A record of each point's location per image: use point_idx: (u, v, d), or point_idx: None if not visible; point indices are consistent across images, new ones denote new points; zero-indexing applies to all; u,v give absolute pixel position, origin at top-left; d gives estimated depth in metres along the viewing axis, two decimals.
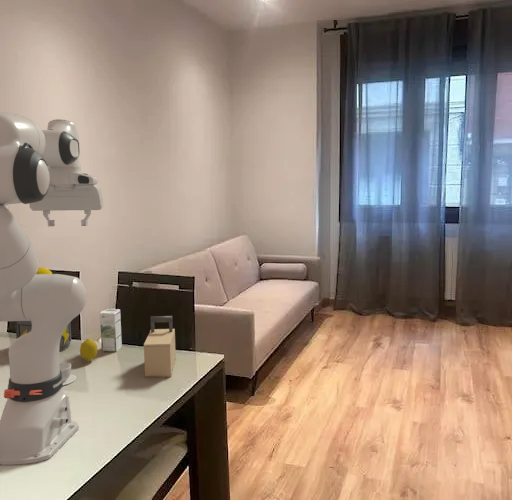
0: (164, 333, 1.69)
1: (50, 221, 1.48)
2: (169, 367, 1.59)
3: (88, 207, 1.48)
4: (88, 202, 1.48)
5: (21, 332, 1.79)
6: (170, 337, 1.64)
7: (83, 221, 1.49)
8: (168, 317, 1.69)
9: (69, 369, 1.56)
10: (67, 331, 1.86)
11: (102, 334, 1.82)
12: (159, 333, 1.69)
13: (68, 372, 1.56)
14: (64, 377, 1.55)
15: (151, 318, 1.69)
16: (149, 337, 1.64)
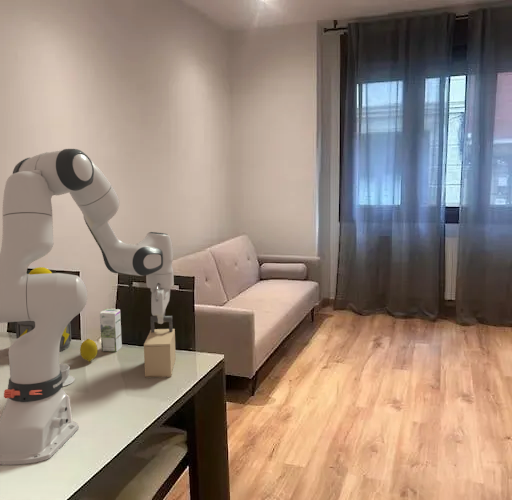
0: (164, 333, 1.69)
1: (163, 318, 1.68)
2: (169, 367, 1.59)
3: (168, 301, 1.76)
4: (168, 296, 1.76)
5: (21, 332, 1.79)
6: (170, 337, 1.64)
7: None
8: (168, 317, 1.69)
9: (67, 370, 1.55)
10: (67, 331, 1.86)
11: (102, 334, 1.82)
12: (159, 333, 1.69)
13: (66, 373, 1.55)
14: None
15: (151, 318, 1.69)
16: (149, 337, 1.64)
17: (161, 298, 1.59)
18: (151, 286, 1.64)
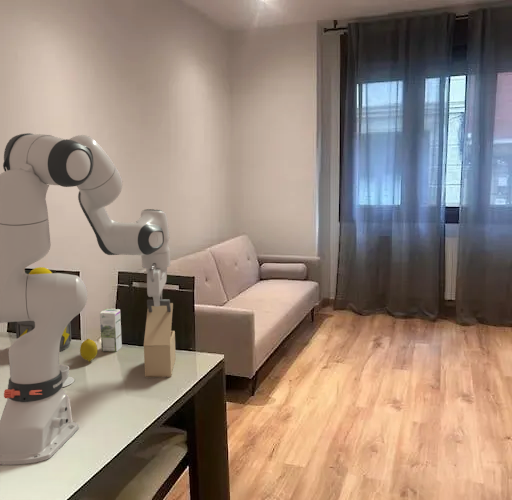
0: (162, 315, 1.65)
1: (159, 301, 1.60)
2: (169, 367, 1.59)
3: (165, 282, 1.68)
4: (165, 278, 1.68)
5: (21, 332, 1.79)
6: (169, 327, 1.62)
7: (161, 297, 1.64)
8: (165, 302, 1.62)
9: (67, 371, 1.54)
10: (67, 331, 1.86)
11: (102, 334, 1.82)
12: (157, 315, 1.65)
13: (66, 374, 1.54)
14: None
15: (148, 303, 1.62)
16: (147, 327, 1.62)
17: (157, 278, 1.51)
18: (147, 266, 1.56)
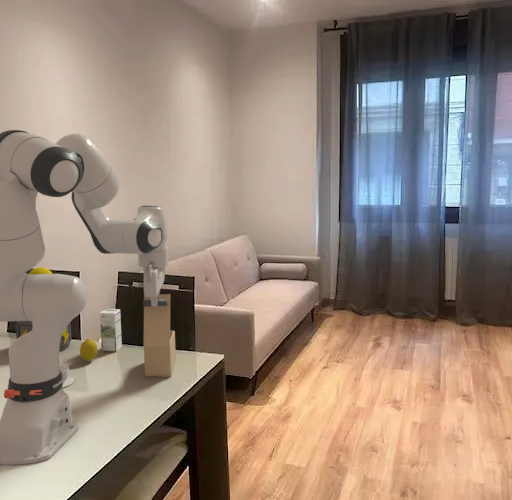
0: (160, 310, 1.59)
1: (157, 301, 1.53)
2: (169, 367, 1.59)
3: (163, 281, 1.61)
4: (162, 277, 1.61)
5: (21, 332, 1.79)
6: (168, 324, 1.58)
7: (158, 298, 1.57)
8: (162, 304, 1.54)
9: (67, 372, 1.54)
10: (67, 331, 1.86)
11: (102, 334, 1.82)
12: (155, 310, 1.59)
13: (66, 375, 1.54)
14: None
15: (144, 305, 1.54)
16: (146, 324, 1.58)
17: (154, 278, 1.44)
18: (143, 265, 1.49)
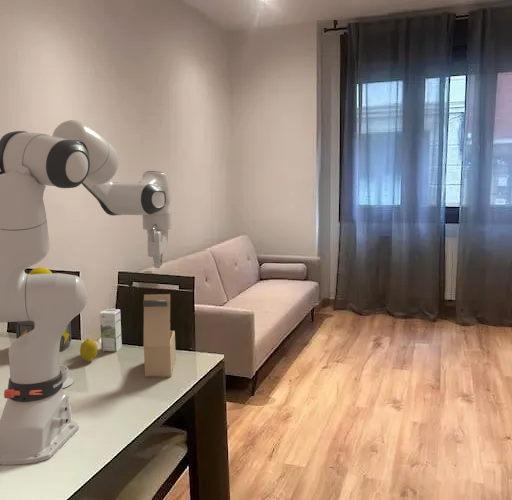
0: (160, 310, 1.59)
1: (160, 263, 1.61)
2: (169, 367, 1.59)
3: None
4: (165, 242, 1.69)
5: (21, 332, 1.79)
6: (168, 324, 1.58)
7: None
8: (162, 305, 1.54)
9: (66, 372, 1.53)
10: (67, 331, 1.86)
11: (102, 334, 1.82)
12: (155, 310, 1.59)
13: (65, 375, 1.53)
14: None
15: (144, 306, 1.54)
16: (146, 324, 1.58)
17: (158, 238, 1.52)
18: (147, 227, 1.58)
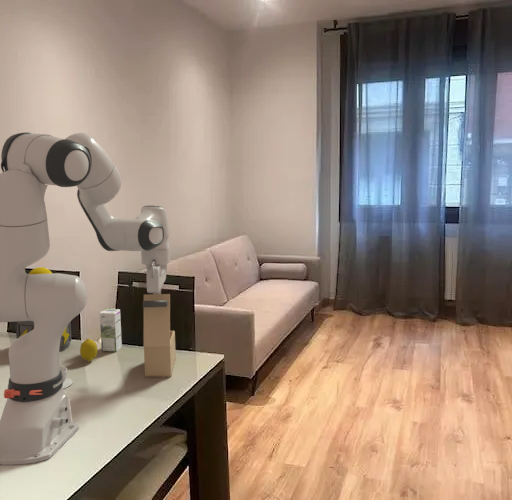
0: (160, 310, 1.58)
1: None
2: (169, 367, 1.59)
3: (164, 279, 1.67)
4: (164, 275, 1.67)
5: (21, 332, 1.79)
6: (168, 325, 1.58)
7: None
8: (162, 305, 1.54)
9: (65, 373, 1.53)
10: (67, 331, 1.86)
11: (102, 334, 1.82)
12: (154, 310, 1.58)
13: (64, 376, 1.52)
14: None
15: (144, 306, 1.53)
16: (145, 324, 1.58)
17: (157, 274, 1.51)
18: (146, 262, 1.56)
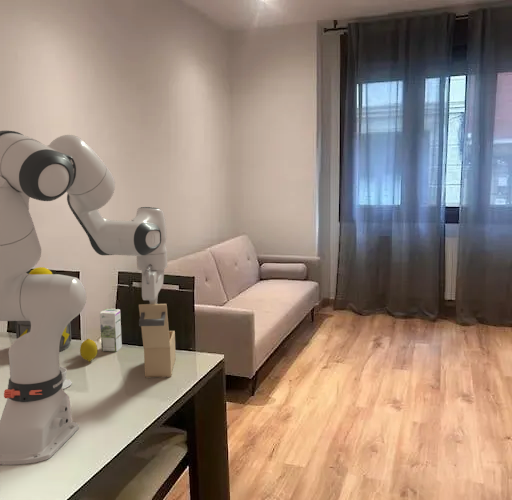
0: (157, 319, 1.52)
1: (156, 303, 1.51)
2: (169, 367, 1.59)
3: (161, 285, 1.58)
4: (161, 280, 1.58)
5: (21, 332, 1.79)
6: (166, 330, 1.54)
7: (156, 303, 1.53)
8: (159, 325, 1.47)
9: (64, 374, 1.52)
10: (67, 331, 1.86)
11: (102, 334, 1.82)
12: (152, 318, 1.52)
13: (63, 377, 1.52)
14: None
15: None
16: (144, 330, 1.54)
17: (153, 281, 1.41)
18: (142, 268, 1.46)
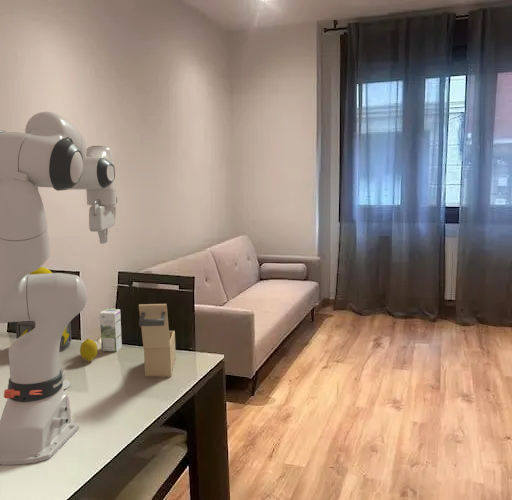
0: (157, 319, 1.52)
1: (105, 238, 1.61)
2: (169, 367, 1.59)
3: (112, 224, 1.68)
4: (112, 219, 1.68)
5: (21, 332, 1.79)
6: (166, 330, 1.54)
7: (106, 238, 1.63)
8: (159, 325, 1.47)
9: (63, 375, 1.51)
10: (67, 331, 1.86)
11: (102, 334, 1.82)
12: (152, 318, 1.52)
13: None
14: None
15: None
16: (143, 330, 1.54)
17: (99, 213, 1.52)
18: (91, 203, 1.57)
